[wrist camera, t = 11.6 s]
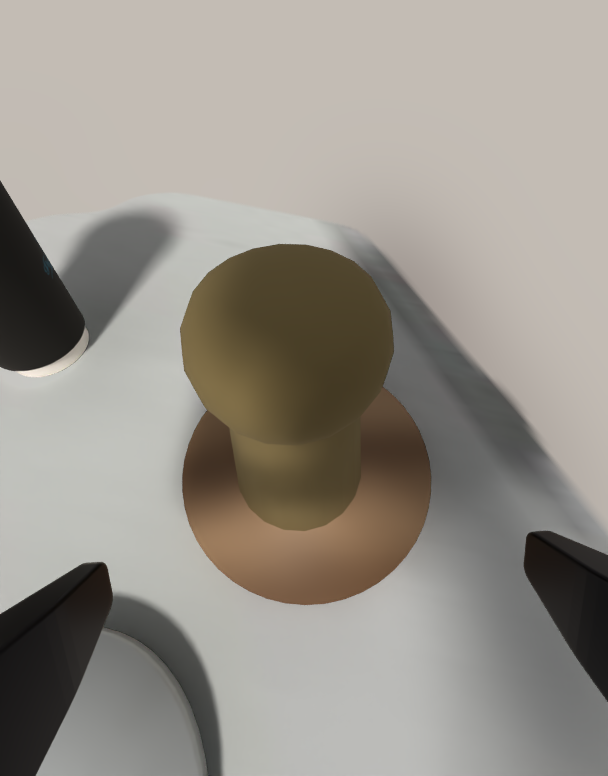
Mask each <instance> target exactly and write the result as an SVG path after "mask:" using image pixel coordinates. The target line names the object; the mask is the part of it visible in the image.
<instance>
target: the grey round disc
mask: <svg viewBox="0 0 608 776" xmlns="http://www.w3.org/2000/svg"><path fill="white" fill-rule="evenodd" d="M36 776H208V773H207V765H206V757H205V753H204V749H203V744H202V740H201V736H200V732H199V728H198V725H197V723H196V720H195V717H194V714H193V711H192V709H191V706H190V704H189V702H188V700H187V698H186V696H185V694H184V692H183V690H182V688H181V686H180V684H179V683H178V681H177V680H176V678H175V677H174V675H173V674H172V673H171V671H170V670H169V668H168V667H167V666H166V665H165V664H164V662H163V661H162V660H161V659H160V658H159V657H158V656H157V655H156V654H155V653H154V652H153V651H151V650H150V649H149V648H147V647H146V646H145V645H143V644H142V643H141V642H139V641H138V640H136V639H134V638H132V637H130V636H128V635H126V634H124V633H122V632H118V631H115V630H111V629H108V628H104V627H103V629H102V632H101V634H100V637H99V639H98V642H97V644H96V647H95V649H94V652H93V654H92V657H91V659H90V662H89V664H88V667H87V669H86V672H85V674H84V677H83V679H82V681H81V684H80V686H79V688H78V691H77V693H76V695H75V697H74V699H73V702H72V704H71V706H70V708H69V710H68V712H67V714H66V716H65V718H64V720H63V722H62V724H61V726H60V728H59V730H58V732H57V734H56V736H55V738H54V740H53V742H52V744H51V746H50V748H49V750H48V752H47V754H46V756H45V758H44V760H43V762H42V764H41V766H40V768H39V770H38V772H37V774H36Z"/></svg>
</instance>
